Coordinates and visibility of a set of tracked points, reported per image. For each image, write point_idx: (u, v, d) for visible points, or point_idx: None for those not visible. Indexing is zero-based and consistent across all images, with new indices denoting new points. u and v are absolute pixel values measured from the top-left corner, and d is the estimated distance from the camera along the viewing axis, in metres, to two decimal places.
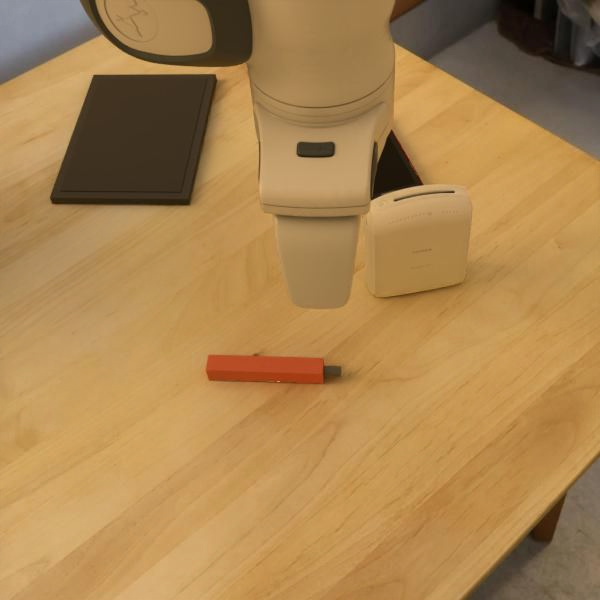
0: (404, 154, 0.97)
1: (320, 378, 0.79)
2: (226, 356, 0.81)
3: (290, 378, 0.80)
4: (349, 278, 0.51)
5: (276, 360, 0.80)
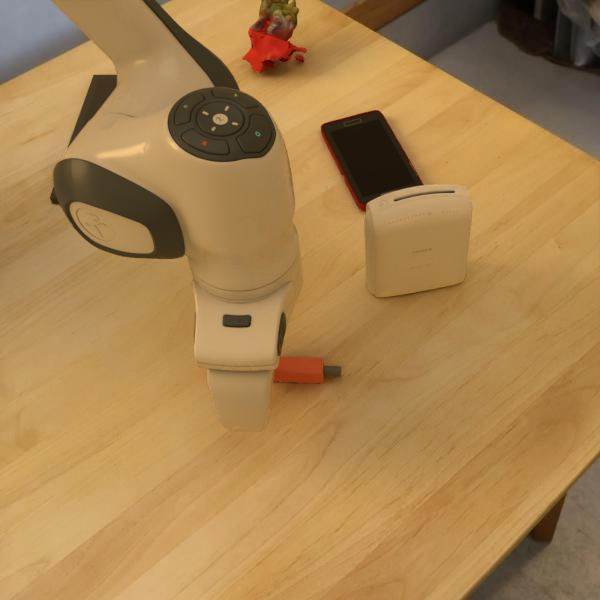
0: (404, 154, 0.97)
1: (320, 378, 0.79)
2: None
3: (290, 378, 0.80)
4: (265, 412, 0.67)
5: None
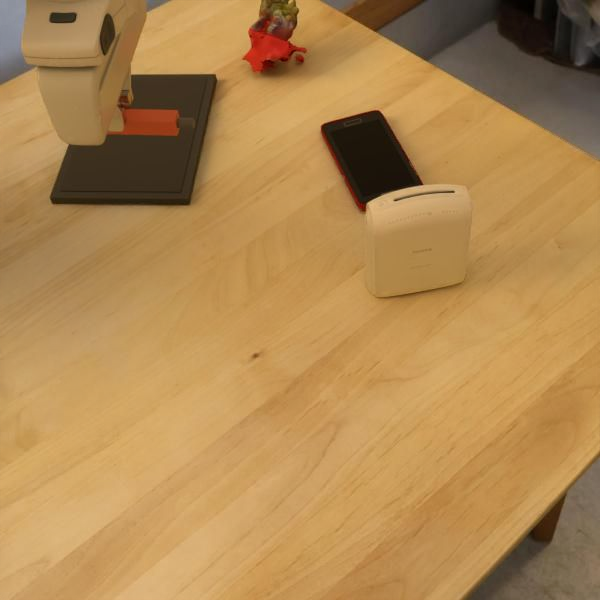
0: (404, 154, 0.97)
1: (173, 128, 0.83)
2: None
3: (145, 128, 0.83)
4: (95, 117, 0.71)
5: (132, 111, 0.83)
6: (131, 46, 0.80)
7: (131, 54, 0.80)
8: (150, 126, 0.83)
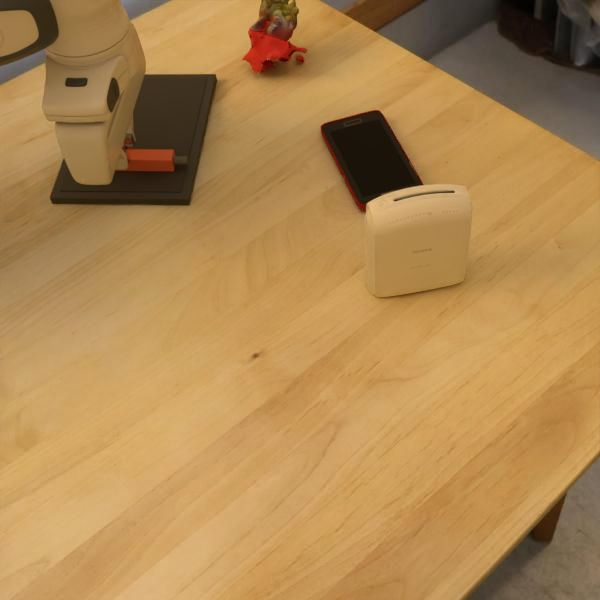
0: (404, 154, 0.97)
1: (170, 165, 0.97)
2: None
3: (146, 165, 0.97)
4: (104, 162, 0.85)
5: (134, 151, 0.97)
6: (133, 97, 0.94)
7: (133, 104, 0.94)
8: (150, 164, 0.97)
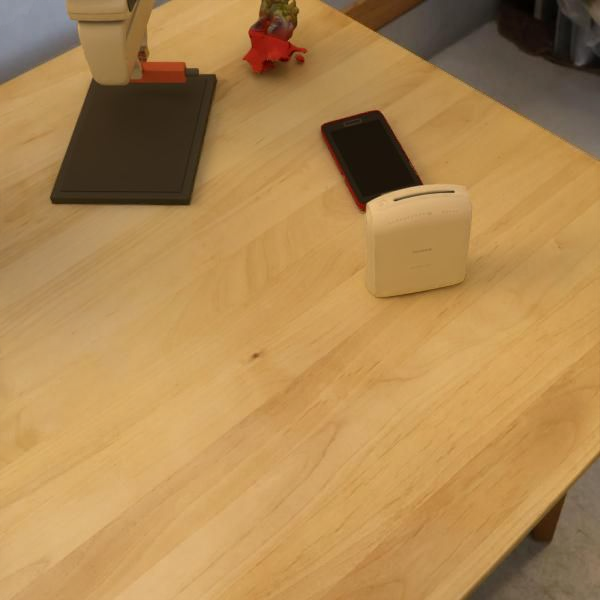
0: (404, 154, 0.97)
1: (182, 76, 1.03)
2: None
3: (159, 77, 1.03)
4: (123, 61, 0.91)
5: (148, 63, 1.03)
6: (147, 10, 1.00)
7: (148, 16, 1.00)
8: (163, 75, 1.03)
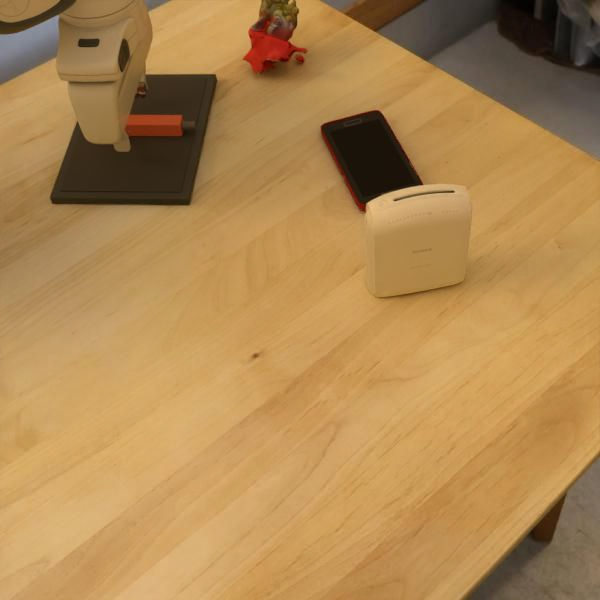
0: (404, 154, 0.97)
1: (178, 130, 1.00)
2: None
3: (155, 130, 1.01)
4: (115, 121, 0.88)
5: (144, 117, 1.01)
6: (141, 63, 0.97)
7: (141, 69, 0.98)
8: (159, 128, 1.00)
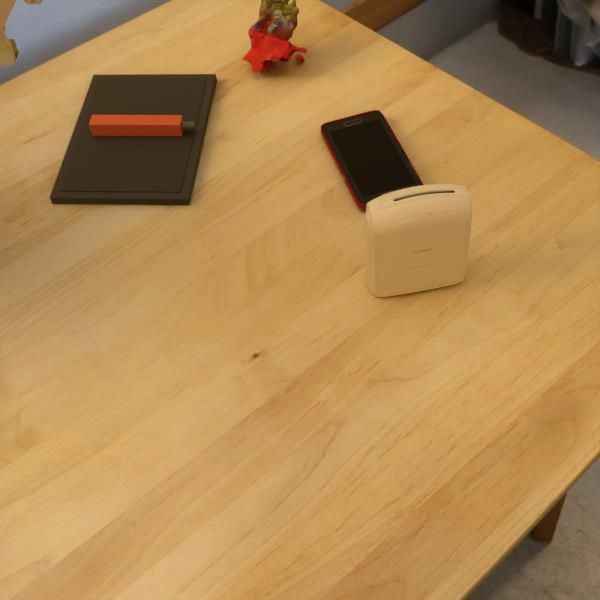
0: (404, 154, 0.97)
1: (178, 130, 1.00)
2: (106, 115, 1.02)
3: (155, 130, 1.01)
4: None
5: (144, 117, 1.01)
6: None
7: None
8: (159, 128, 1.00)
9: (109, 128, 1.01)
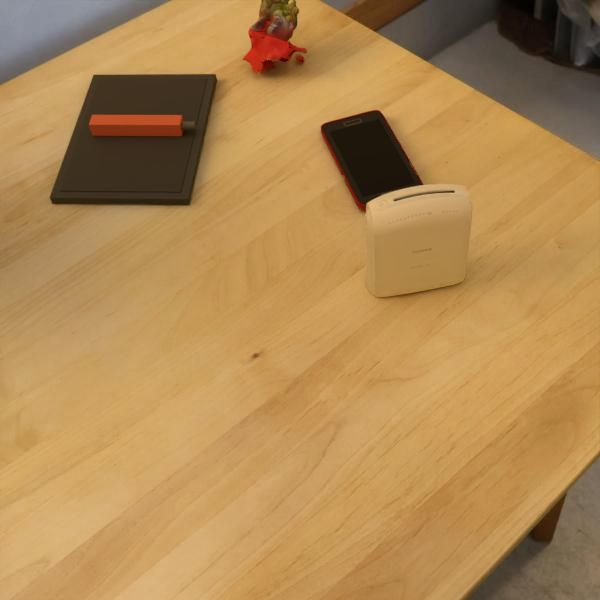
0: (404, 154, 0.97)
1: (178, 130, 1.00)
2: (106, 115, 1.02)
3: (155, 130, 1.01)
4: None
5: (144, 117, 1.01)
6: None
7: None
8: (159, 128, 1.00)
9: (109, 128, 1.01)
